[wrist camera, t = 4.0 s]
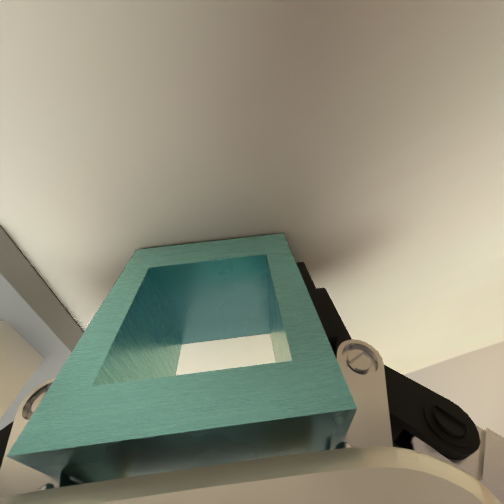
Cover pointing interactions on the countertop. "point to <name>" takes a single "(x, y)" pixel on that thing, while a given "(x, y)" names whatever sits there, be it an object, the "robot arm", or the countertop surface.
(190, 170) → the countertop surface
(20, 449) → the frame
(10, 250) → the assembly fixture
